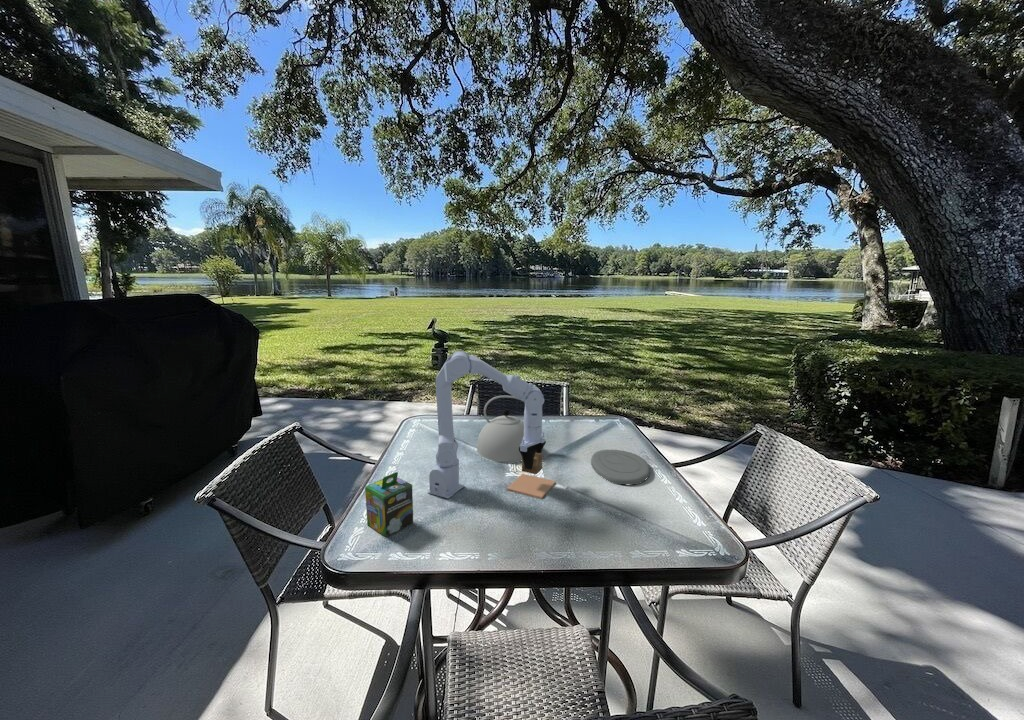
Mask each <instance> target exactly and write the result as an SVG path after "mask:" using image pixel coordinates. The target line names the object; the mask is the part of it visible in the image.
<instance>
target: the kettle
mask: <svg viewBox="0 0 1024 720" xmlns="http://www.w3.org/2000/svg"><path fill="white" fill-rule="evenodd" d="M501 398H502V399H503V398H504V399H505V398H506V399H508V398H509V399H515V400H519V401H522V402H523V403H524V404H525V401H524V400H520V399H518V398H516V397H514V396H512V395H498V396H494V397H492V398H491V399H489V400H487V402H486V403H485V405H484V406H483V407H484V408H483V416H484V419H485V421H486V422H487V423H485V424H484V426H483V427H482V428H481V431H480V432H479V435H478V436H477V437H478V438H477V443H476V444H477V445H476V453H477V452H478V453H479V455H480V456H482V457H484V458H486V459H488V460H487V461H489V460H492V461H491V462H493V461H495V462H494V463H500V462H503V464H509V463H510V464H512V463H511V462H513V463H519V462H518V461H520V462H522V461H521V460H522V455H521V453H520V452H519V447H520V445H521V444H522V440H523V437H524V420H521V419H520V418H519V417H517V416H513V415H510V413H511V412H510V410H509V409H508V408H504V409H503V410H502V414H503V415H499V416H496V417H494V418H493V419H490V420H489V418H488V416H487V407H488V405H489V404H490V403H491V402H492V401H494V400H497V399H501ZM479 455H478V456H479ZM480 456H479V457H480ZM482 457H481V458H482ZM486 459H485V460H486Z"/></svg>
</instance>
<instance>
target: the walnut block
mask: <svg viewBox="0 0 1024 720" xmlns="http://www.w3.org/2000/svg"><path fill="white" fill-rule="evenodd" d="M543 457H544V456H543V453H542V452H541V453H535V456H534V460H533V466H532V469H531V470H530V469H526V468H525V466H524V461H523V458H522V461H521V472H524V473H529V474H533V475H537V474H538V473H539V472H540V471H541V470H542V469H543V462H544V461H543Z"/></svg>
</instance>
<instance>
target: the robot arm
mask: <svg viewBox="0 0 1024 720" xmlns="http://www.w3.org/2000/svg"><path fill="white" fill-rule="evenodd" d="M468 373H469V375H477V374H480V375H482V376H484V377H486V378H487V379H489V380H491V381H494V382H495V383H498V384H499V385H501V386H502V390H503V392H505V393H507V394H509V395H510V396H514V397H516V398H518V399H517V400H519V399H520V400H519V401H521V400H524V401H525V403H524V411H523V422H524V437H523V440H522V444H521V445H520V447H519V452H520V453H521V455H522V458H523V461H524V466H525V468H526V469H530V470H531V469H532V466H533V460H534V456H535V453H541V454H542V451H543V449H544V447H545V445H546V442H547V441H546V439H545V438H544V437H545V431H543V405H544V403H545V397H544V396H545V395H544V394H543V393H542V391H541V389H540V388H539V387H537V386H536V385H534V384H533V383H532V382H530V383H528V382H527V381H525V380H523V379H521V375H518V374H516V375H514V374H509V375H506V374H504V373H503V372H502V371H500V370H499V369H497V368H495V367H493V366H492V365H491V364H489V363H487V362H485V361H483V360H482V359H480V358H479V357H476V356H475V355H472V354H468V352H466V351H463V350H458V351H457V350H456V351H455V352H454V353H452V354H451V355H450V356H448V357H447V358H446V360H445V362H444V363H443V366H442V367H441V369H440V370H439V372H438V373H437V375H436V377H435V395H436V397H435V398H436V411H437V412H436V413H437V427H438V429H437V431H438V442H437V443H438V446H437V447H438V448H437V451H436V454H435V465H434V467H433V469H431V471H430V472H429V475H428V477H429V479H428V480H429V489H428V490H427V493H428V494H430V495H433V496H437V497H442V498H445V499H449V498H451V497H452V496H454V495H455V494H456V493H457V492H459V491H460V490H462V488H464V487H465V484H464V483H460V460H459V458H458V456H457V454H458V447H459V445H458V444H459V443H458V442H457V441H456V438H455V432H454V413H453V396H452V394H453V393H452V384H453V383H454V382H456V380H457V379H460V378H462V377H464V376H466V375H467V374H468Z"/></svg>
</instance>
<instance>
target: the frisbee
mask: <svg viewBox="0 0 1024 720" xmlns="http://www.w3.org/2000/svg"><path fill="white" fill-rule="evenodd" d="M590 463H591V464H590V465H591V467H592V469H593V468H594V469H593V470H594V471H595V472H596V473H597V475H599V476H600V477H601V476H602V477H603V478H602V477H601V478H602V479H604V478H605V479H606V480H605V479H604V480H605V481H607V480H608V481H607V482H609V481H610V482H609V483H612V482H613V483H612V484H615V483H617V484H616V485H620V484H636V483H639V484H641V483H640V482H642V481H644V480H645V479H646V478H647V477H648V476H650V471H651V469H650V465H649V463H648V462H647V461H646V459H644V458H643V457H641V456H640V455H638V454H635V453H633V452H630V451H626V450H620V449H603V450H602V449H601V450H599V451H598V450H597V451H595V452H594V453H593V454H592V456H591V459H590ZM648 478H649V477H648ZM644 482H645V481H644ZM642 483H643V482H642ZM636 485H637V484H636Z"/></svg>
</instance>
